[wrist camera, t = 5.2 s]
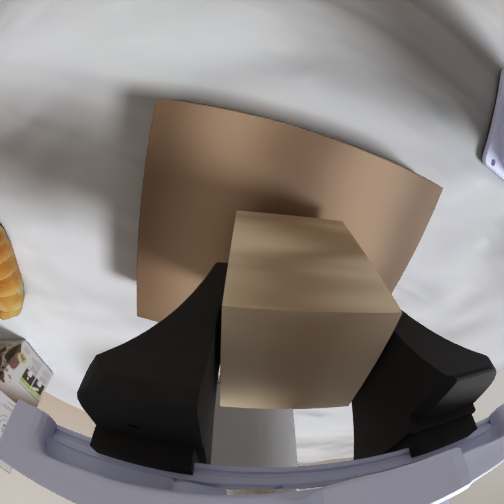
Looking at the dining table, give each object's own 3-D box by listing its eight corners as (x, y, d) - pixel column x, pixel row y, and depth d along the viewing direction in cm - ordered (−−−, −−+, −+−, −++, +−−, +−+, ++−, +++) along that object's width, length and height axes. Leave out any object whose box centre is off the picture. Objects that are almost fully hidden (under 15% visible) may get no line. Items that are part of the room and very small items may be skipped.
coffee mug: (296, 379, 23) (307, 480, 14) (287, 423, 28) (293, 498, 19) (153, 375, 23) (129, 468, 15) (176, 420, 28) (164, 491, 19)
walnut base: (415, 172, 14) (443, 187, 11) (341, 324, 20) (351, 354, 17) (175, 100, 12) (156, 98, 10) (151, 286, 18) (137, 316, 15)
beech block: (342, 221, 11) (402, 312, 6) (320, 303, 14) (348, 405, 8) (236, 210, 11) (222, 305, 6) (230, 298, 13) (219, 406, 8)
